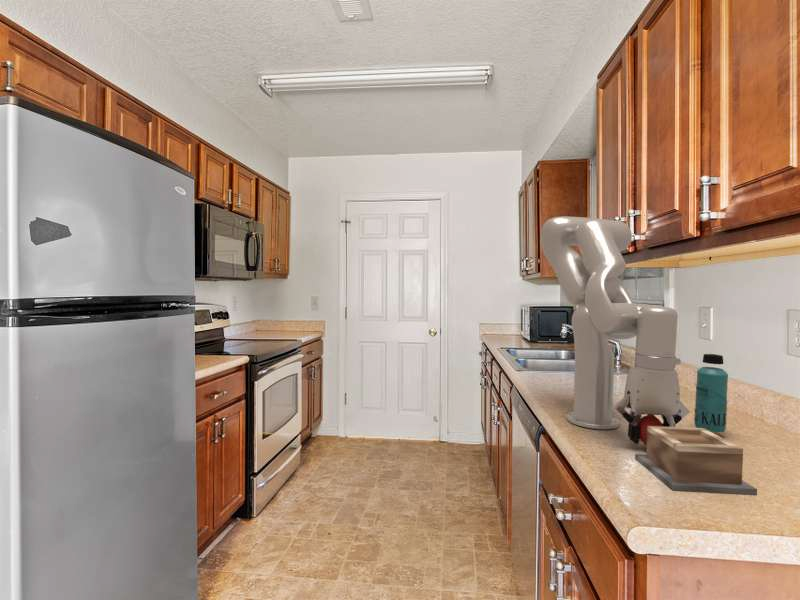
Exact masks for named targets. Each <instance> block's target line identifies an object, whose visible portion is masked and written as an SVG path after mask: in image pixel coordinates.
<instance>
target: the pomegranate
mask: <svg viewBox="0 0 800 600" xmlns="http://www.w3.org/2000/svg"><path fill="white" fill-rule="evenodd" d="M662 423H663V422H662V421H661V420H660V419H659V418H658V417H657V416H656V415H647V414H646V415H644V416H641V418H640V420H639V422H638V426H639V427H640V435H639V441H641V442H642V443H643V444H644V446H645V447H647V426H662V427H664V426H663V424H662Z"/></svg>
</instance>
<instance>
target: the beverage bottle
mask: <svg viewBox="0 0 800 600" xmlns="http://www.w3.org/2000/svg"><path fill="white" fill-rule="evenodd" d="M702 363H704V364H712V365H724V356H723V355H720V354H717V353H715V354H714V353H705V354H703V355H702ZM728 379H729V373H728V372H726V371H725V370H724V369H723V368H720V367H713V366H701V367H700V368H699V369H697V371H696V385H695V393H694V394H695V402H694V403H695V404H694V405H695V407H694V418H693V419H694V420H693V422H694V426H695V427H694V428H704V429H706V430H708V431H710V432H712V433H718V434H719V433H725V432H726V429H727V420H728V419H727V415H728V413H727V411H728V384H729V383H728V381H729V380H728Z"/></svg>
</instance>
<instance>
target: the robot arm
mask: <svg viewBox="0 0 800 600" xmlns="http://www.w3.org/2000/svg"><path fill="white" fill-rule="evenodd" d="M540 231H541V232H540V246H541V249H542V252H543V254H544V256H545V258H546V260H547V261H548V262H549V264H550V266H551V268H552V269H553V270H554V272H555V275H556V278H557V279H558V282H559V284H560V287H561V289H562V291H563V293H564V296H565V298H566V300H567V302H568V303H569V304H571V305H572V306H576V307H577V308H576V309H575V310H574V311H573V313H572V316H571V326H572V327H571V328H572V333H573V340H574V376H573V377H574V380H573V381H574V382H573V384H574V385H573V410H572V411H571V412H568V413H567V415H566V420H567V421H568V422H570V423H571V424H573V425H577V426H579V427H583V428H586V429H593V430H594V429H595V430H613V429H614V430H615V429H617V428H618V427H620V426H619V425H620V420H618V419H617V418H616V417H614V416H613V415H614V414H613V412H614V411H613V410H614V409H615V410H616V411H617V412H618V413H619V414H620V415H621V417H623V418H624V420H626V422H628V424H627V425H628V427H627V436H628V438H629V440H630V441H631V442H632V443H633V444H634V445H638V444H640V439H639V435H640V427H639V426H638V422H639V420H640V418H642V417H643V415H646V416H647V415H654V416H661V419H662V422H661V423H662V424H663V426H664V427H677V424H678V423H680V422H681V421H682V420H683V418H685V417H686V416H688V414H689V413H690V410H689V409H688V407H686V405H684V404H683V402H682V401H681V391H680V381H679V374H678V371H677V369H675V368H676V366H677V365H681V362H682V361H681V359H680V358H677V356H676V349H677V348H676V347H677V345H676V344H677V334H678V333H677V332H678V317H679V315H678V312H677V310H675V308H672V307H667V306H655V305H654V306H653V305H651V304H645V303H635V302H634V300H633V299H632V297H631V295H630V293H629V291H628V290H627V288H626V285H624V282H623V281H622V280H621V279H620V277H619V276H620V275H622V273H624V271H625V270H626V268H627V267H626V266H627V264H626V261H625V259H624V257H623V255H622V253H621V252H623V251H626V250H627V249H628V247H630V245H631V243H632V239H633V237H632V235H633V234H632V231H631V229H630V226H628V225H627V224H626V222H624V221H621V220H616V219H615V220H612V219H606V218H605V219H603V218H596V217H583V216H581V217H580V216H568V215H567V216H565V215H563V216H555V217H552V218H549V219H547V220H546V221H545V222H544V224H543V225H542V227H541V230H540ZM573 247H578V248H579V251H580V254H579V252H577V251H576V250H575V249H573ZM633 338H635V349H634V350H635V353H634V365H630V367H629V370H628V373H627V377H626V382H625V387H624V393H623V394H624V395H623V398H622V399H620V400H619V401H618V402H617V403H616V404H615V405H614V380H615V379H614V378H615V377H614V375H615V374H614V373H615V357H614V353H613V350H612V349H611V346H610V345H609V343H608V341H610V340H611V341H612V340H613V341H615V340H616V341H617V340H618V341H619V340H620V341H621V340H629V339H630V340H631V339H633ZM613 406H614V407H613ZM626 408H627V409H630V410H629V412H628V411H627V410H626Z"/></svg>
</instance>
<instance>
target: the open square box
mask: <svg viewBox="0 0 800 600" xmlns="http://www.w3.org/2000/svg"><path fill="white" fill-rule="evenodd" d="M634 459H635V460H637V462H638V463H640V464H641V466H643V467H645V468H646V469H647V470H648V471H649V472H650V473H651V474H652V475H654V476H655V477H656V478H657V479H659V480H660V481H661V482H662V483H663V484H665V485H666V486H667V487H668V488H669V489H671V490H672V491H674V492H675V491H677V492H680V491H681V492H694V493H695V492H696V493H711V494H712V493H714V494H715V493H716V494H731V495H732V494H734V495H750V496H751V495H752V496H757V495H758V489H757V488H756V487H754V486H753V485H751V484H749V483H748V482H747V481H745V480H743V464H744V448H743V447H740V446H739V445H737V444H735V443H733V442H731V441H729V440H727V439H725V438H723V437H721V436H719V435H718V434H715V432H710V431H708V430H706V429H704V428H696V427H686V426H685V427H684V426H683V427H681V426H676V427H662V426H647V446H646V454H644V453H643V454H642V453H635V454H634Z"/></svg>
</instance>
